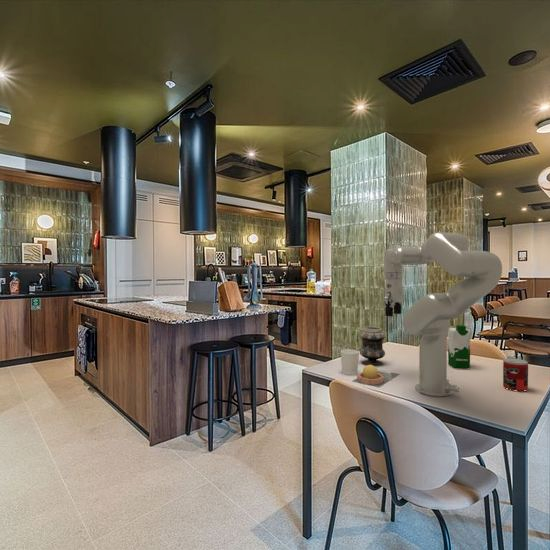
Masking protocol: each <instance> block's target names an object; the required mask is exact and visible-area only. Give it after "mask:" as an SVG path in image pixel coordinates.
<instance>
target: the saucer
mask: <svg viewBox="0 0 550 550" xmlns="http://www.w3.org/2000/svg"><path fill="white" fill-rule="evenodd" d="M356 379H358V381H359V382H360V383H359V384H362V383H363V384H362V385H366V384H367V386H370V385H380V384H382V383H383V381H384V376H382V375H381V374H378V375H377V377H376V378H375V379H367V378H365V377H364V375H363V371H362V372H360V373H357V374H356Z"/></svg>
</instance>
